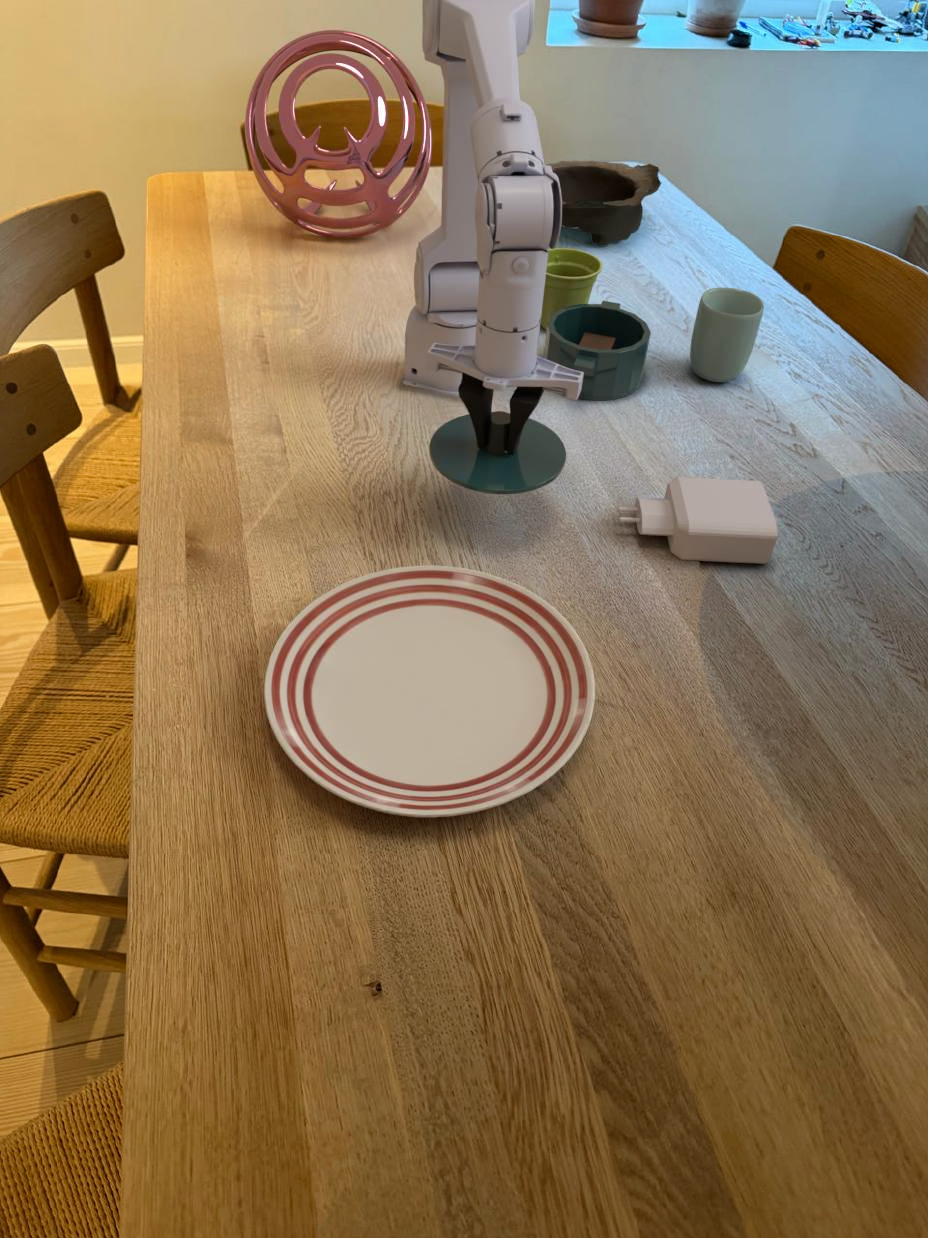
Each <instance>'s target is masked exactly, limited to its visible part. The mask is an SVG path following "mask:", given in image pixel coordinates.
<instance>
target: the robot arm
mask: <svg viewBox="0 0 928 1238" xmlns="http://www.w3.org/2000/svg"><path fill="white" fill-rule="evenodd" d="M421 4H422V5H421V6H422V7H421V9H422V10H421V13H422V14H421V15H422V17H421V18H422V27H421V28H422V30H421V31H422V38H421V41H422V43H421V45H422V46H421V47H422V52H423V54H424V60H425V61H426V62H429V63H431V64H434V65H436V66H439V67H440V71H441V75H442V79H443V84H444V85H443V89H444V90H443V91H444V92H443V127H442V128H443V129H442V130H443V132H442V133H443V135H442V137H443V138H442V171H441V172H442V173H441V215H440V217H441V218H440V225H439V226H438V228H436V229H435V230H434V231H432V232H430V233H429V234H428V235H426V236H425V237H424V238H422V239H421V240H420V241H419V242H418V244H417V247H416V250H415V263H414V269H413V291H414V300H415V301H414V302H415V305H413V306H412V308H411V310H410V312H409V315H408V316H407V321H406V325H405V332H404V380H403V381H402V384H403V385H407V386H410V387H411V386H412V387H416V388H422V389H426V390H431V391H435V392H439V393H440V392H441V393H445V394H450V395H456V396H458V397H459V398H460V400H461V401H462V403H463V404H464V406H465V408H466V411H467V412H468V414H469V415H470V417H471V420H472V423H473V426H474V430H475V434H476V439H477V447H478V448H482V449H484V448H485V446H486V438H487V425H488V416H489V414H490V413H491V412H492V407H493V398H494V392H495V391H501V392H502V391H505V389H506V388H507V387H512V388H513V387H515V389H514V391H513V393H512V395H511V396H510V398H509V413H510V431H509V437H508V443H507V454H510V455H514V454H515V452H516V450H517V447H518V445H519V441H520V437H521V433H522V430H523V428H524V425H525V423H526V421H527V420H528V418H530V417H531V416H532V414H533V412H534V411H535V409H536V408H537V406H538V404H539V402H540V400H541V398H542V396H543V394H544V392H545V391H546V392H551V393H555V394H561V395H565V398H566V399H567V400H572V401H577V400H578V399H579V398H578V397H579V395H580V392H581V389H582V382H583V375H584V372H581V371H576V370H573V369H569V368H567V367H564V366H561V365H559V364H557V363H554V362H552V361H549V360H547V359H544V358H543V356H539V355H538V348H539V338H540V329H541V324H540V322H541V314H542V305H543V296H544V287H545V278H546V269H547V260H548V250H547V249H555V248H557V246H558V244H559V240H560V237H561V230H562V226H561V223H562V196H561V189H560V183H559V179H558V177H557V175H556V174H555V173H553V172H552V168H551V166H550V165H545V164H546V163H545V160H544V159H545V158H544V154H543V149H542V148H543V147H542V143H541V137H540V132H539V125H538V121H537V115H536V113H535V110H534V109H533V108H532V107H531V105H529V104H528V103H527V102H525V101H523V100H521V91H520V77H519V75H520V74H519V61H518V58H519V57H520V56H521V55H524V54H525V53H526V50H527V47H529V45H530V44H531V41H532V38H533V34H534V28H535V16H536V0H422V3H421Z"/></svg>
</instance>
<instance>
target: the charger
mask: <svg viewBox="0 0 928 1238" xmlns="http://www.w3.org/2000/svg"><path fill="white" fill-rule="evenodd" d="M616 510H617V512H629V513H635V517H629V516H620V517H618V521H619V522H620V523H621V522H623V523H636V528H637V532H638V534H639V535H640V536H641V535H643V536H665V537H667V540H668V546H669V551H670V553H671V554H673V555H674V556H675V557H676V558H678V559H680V560H682V561H699V562H718V563H735V564H736V563H738V564H757V565H758V564H759V565H768V564H769V563H770V560H771V557H772V554H773V552H774V548H775V546H776V543H777V540H778V536H779V533H778V532H779V531H778V525H777V521H776V518H775V515H774V512H773V509H772V507H771V503H770V500H769V498H768V495H767V492H766V489H765V486H764V484H763V482H762V481H761V480H749V479H746V480H745V479H731V478H730V479H727V478H709V477H708V478H705V477H691V476H690V477H689V476H676V477H675V478H673V479H672V480H670V481H669V482H668V483H667V486H666V490H665V494H664V498H656V497H655V498H653V497H636V498H635V505H634V507H633V506H617V507H616Z"/></svg>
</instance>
